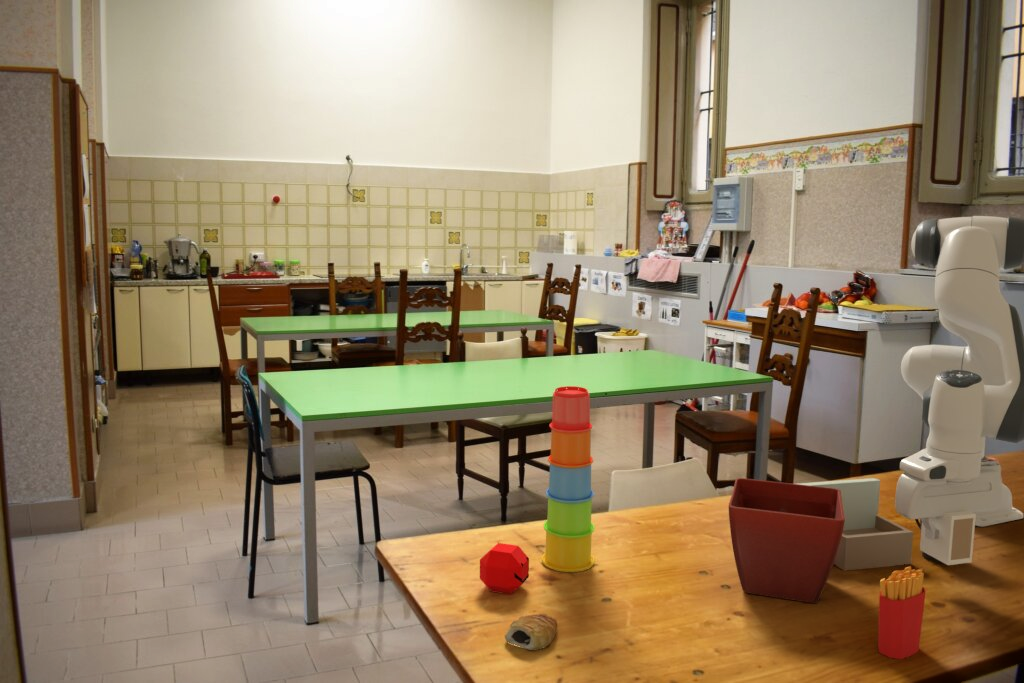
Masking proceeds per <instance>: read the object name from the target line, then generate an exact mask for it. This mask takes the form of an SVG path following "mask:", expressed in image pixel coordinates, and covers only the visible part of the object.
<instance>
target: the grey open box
mask: <svg viewBox="0 0 1024 683" xmlns="http://www.w3.org/2000/svg"><path fill="white" fill-rule="evenodd" d="M796 484H799V485H808V486H817V487H826V488H834V489H839V490H840V491H841V496H842V503H843V509H844V515H845V523H844V528H843V533H842V537H841V541H840V544H839V548H838V551H837V555H836V558H835V561H834V564H835V566H836V567H837V568H839V569H841V570H842V571H845V572H846V571H853V570H855V571H856V570H863V569H873V568H874V569H875V568H885V567H892V566H893V567H895V566H904V564H905V565H911V564H912V557H913V556H912V554H913V543H914V542H913V541H914V531H912V530H910V529H909V528H906V527H905V526H902V525H900V524H898V523H896V522H893V521H892V520H890V519H888V518H886V517H884V516H881V515H879V504H880V503H879V502H880V491H881V490H880V489H881V480H880V479H878V478H875V477H871V478H858V479H857V478H856V479H855V478H854V479H843V480H831V481H830V480H828V481H813V482H800V483H797V482H796ZM834 564H833V565H834Z"/></svg>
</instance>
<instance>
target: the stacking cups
mask: <svg viewBox="0 0 1024 683" xmlns="http://www.w3.org/2000/svg"><path fill="white" fill-rule="evenodd" d="M590 399H591V398H590V393H589V390H588V389H587V388H585V387H582V386H571V385H569V386H567V385H566V386H560V387H557V388H555V389H554V392H552V409H551V410H552V412H551V413H552V415H551V420H552V421H551V422H550V423H549V428H550V431H551V433H550V437H551V438H550V455H549V456H548V457H547V462H548V463H549V476H548V477H549V478H548V479H549V480H548V482H549V483H548V488H547V489H546V492H545V494H546V496H547V498H548V499H547V516H546V517H547V518H546V519H547V520H546V521H545V522H544V523H543V529H544V531H545V532H546V533H545V552H544V553H543V555H542V556H541V562H542V564H543V565H544V566H545V567H547V568H549V569H551V570H554V571H557V572H561V573H562V572H563V573H576V572H577V573H578V572H579V573H580V572H583V571H587V570H590V569H591V568H592V567H593V566H594V564H595V558H594V556H593V555H592V535H593V533H594V532H595V525H594V524H593V522H592V500H593V497H594V495H595V493H594V491H593V490H592V464H593V462H594V458H593V457H592V456H591V444H592V443H591V442H592V441H591V437H592V436H591V434H592V433H591V431H592V430H591V429H592V428H593V424H592V423H591V418H590V416H591V415H590V414H591V408H590V407H591V405H590V404H591V403H590V402H591V400H590Z"/></svg>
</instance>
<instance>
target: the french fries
mask: <svg viewBox="0 0 1024 683" xmlns="http://www.w3.org/2000/svg"><path fill="white" fill-rule="evenodd" d="M923 571H924V570H923V568H919V569H915V568H914V569H912V566H911V565H910V566H907V567H904V569H902V570H898V569H897V570H894V571H893V572H892V573H891V575H889V576H888V578H887V579H886V578H885V577H884V578H881V579H880V581H879V588H880V591H879V594H878V595H879V602H878V603H879V604H878V605H879V606H878V646H877V647H878V649H879V650H878V653H879V652H880V653H882V654H881V655H883V654H884V655H883V656H885V655H886V656H885V657H887V656H888V658H889V657H890V658H889V659H892V658H896V659H895V660H904V659H905V657H906V658H908V657H910V656H913V655H915V654H917V653H919V650H920V642H921V633H922V632H921V631H922V626H923V616H924V607H925V599H926V587H923V583H924V576H925V574H924V573H925V572H923ZM880 653H879V654H880ZM897 658H898V659H897Z"/></svg>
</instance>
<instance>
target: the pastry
mask: <svg viewBox="0 0 1024 683" xmlns="http://www.w3.org/2000/svg"><path fill="white" fill-rule="evenodd" d="M557 632H558V622H557V620H556V618H553V617H552V616H549V615H548V614H545V613H537V614H529V615H525V616H519V617H518V619H515V620H513V621H512V622H511V624H510V625H509V628H508V630H507V632H506V633H505V635H504V639H505V641H506V642H507V643H508V642H509V643H511V644H513V645H514V644H515V645H517V646H520V647H523V648H522V649H524V648H526V649H525V650H527V649H529V650H528V651H536V650H535V649H540V650H542V649H541V648H543V647H545V648H546V647H547V646H548V645H550V644H551V643H552V641H553V640H554V637H555V636H556V634H557ZM550 642H551V643H550ZM549 643H550V644H549ZM543 649H544V648H543Z"/></svg>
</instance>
